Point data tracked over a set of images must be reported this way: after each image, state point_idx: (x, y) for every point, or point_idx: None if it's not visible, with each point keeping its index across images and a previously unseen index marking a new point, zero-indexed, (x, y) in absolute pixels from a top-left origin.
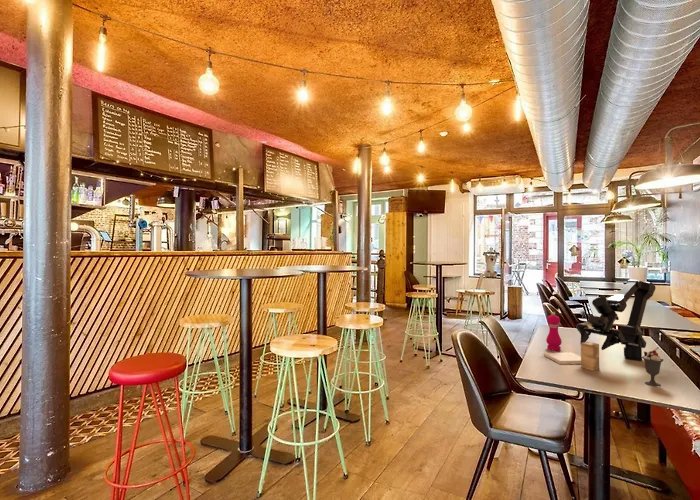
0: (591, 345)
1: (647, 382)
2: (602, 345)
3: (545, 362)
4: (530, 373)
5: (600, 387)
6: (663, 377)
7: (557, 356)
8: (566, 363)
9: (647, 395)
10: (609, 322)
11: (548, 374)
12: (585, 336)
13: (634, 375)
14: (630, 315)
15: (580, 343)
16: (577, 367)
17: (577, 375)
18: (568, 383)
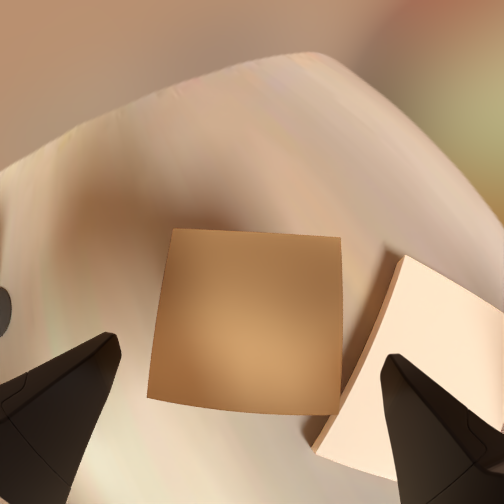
0: (182, 231)
1: (2, 304)
2: (90, 353)
3: (439, 224)
4: (330, 73)
5: (114, 124)
6: None
7: (470, 331)
8: (385, 297)
9: (14, 181)
10: None
11: (296, 96)
12: (439, 494)
13: None
14: None
15: (401, 356)
16: None
17: (222, 160)
18: (199, 81)
